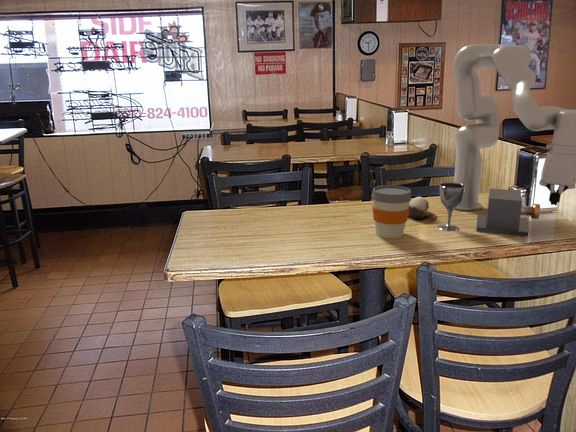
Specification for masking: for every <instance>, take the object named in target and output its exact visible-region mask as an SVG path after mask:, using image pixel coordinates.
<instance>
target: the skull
mask: <svg viewBox="0 0 576 432" xmlns="http://www.w3.org/2000/svg"><path fill="white" fill-rule="evenodd" d="M409 207H410V209H409V214H408V219H407V220H409V219H410V220H415V221H419V222H424V223H426V222H433V221H435V220H436V219H437V215H436V214H435V213H434V212H431V211H429V209H430V205H429V201H428V200H427V199H426V198H424V197H422V196H416V197H414V198H413V199H411V200H410V202H409Z"/></svg>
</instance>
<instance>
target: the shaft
mask: <svg viewBox="0 0 576 432" xmlns="http://www.w3.org/2000/svg"><path fill="white" fill-rule="evenodd" d="M540 210H541V204H539V203H532V205H531V206H529V205H522V208H521V215H522V216H530V219H533V220H539V217H540V212H541V211H540ZM487 212H488V210H487V209H486V213H487ZM521 215H520V216H521Z"/></svg>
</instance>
